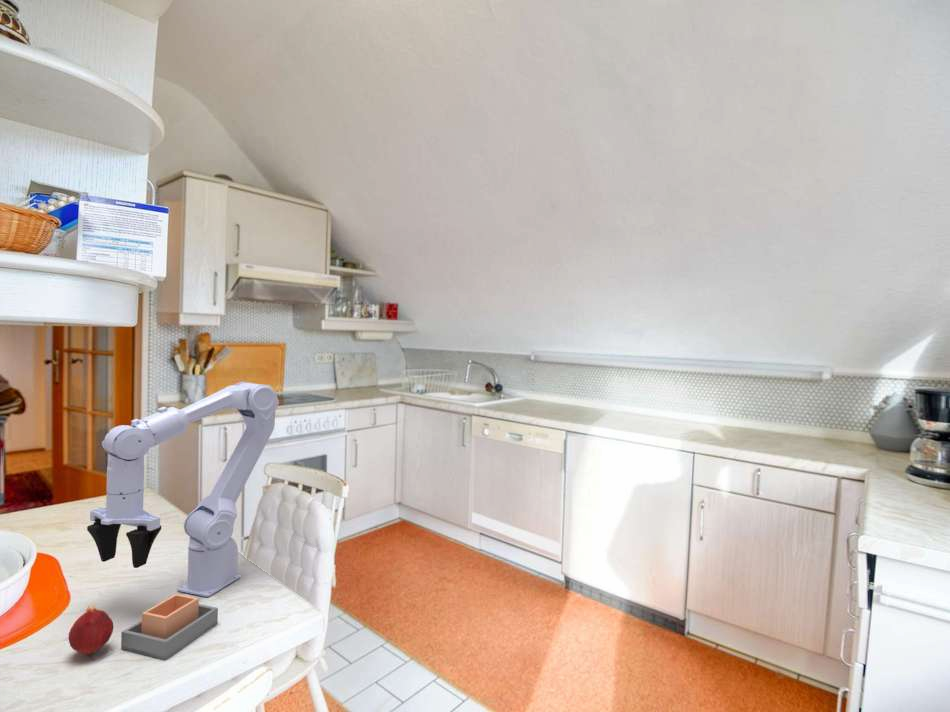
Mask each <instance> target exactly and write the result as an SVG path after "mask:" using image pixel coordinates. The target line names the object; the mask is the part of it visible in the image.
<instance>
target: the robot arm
mask: <svg viewBox="0 0 950 712" xmlns="http://www.w3.org/2000/svg"><path fill="white" fill-rule="evenodd" d="M279 403H280V401H279V398H278V396H277V393H276V391H275V389H274V388H273V387H272V386H271V385H268V384H260V383H253V382H249V381H240V382H237V383H236V384H232V385H227V386H226V387H224V388H222V389H221V390H218V391H216V392H215V393H212V394H210V395H208V396H205V397H204V398H202V399H200V400H198V401H197V400H196V402H192V403H191V404H189V405H187V406H184V407H183V408H181V409H180V408H177V407H174V406H170V407H167V406H162V407H160V408H159V407H158V408H157V412H155V413H153V414H150V415H148V416H146V417H143V418H141V419H138V418H135V419H134V418H133V419H132V420H131V421H130V422H131V424H130V425H127V424H126V425H125V424H122V425H117V426H115V427H113V428H111V429H110V430H109V432H107V433H106V434H105V437H104V440H102V442H101V445H102V447H103V449H104V451H105V452H106V453H107V467H106V490H105V491H106V494H105V495H106V498H105V499H106V500H105V503H106V504H105V505H106V507H99V508H95V509H92V510H90V511H89V521H91V522H93V523H92V524H89V525H87V527H86V531H87V532H88V533H89V534H90V536H91V537H92V538H93V541H94V542H95V544H96V548H97V551H98V554H99V557H100V560H101V562H103V563H105V562H107V561H109V560H112V559H114V558H115V557H116V553H117V543H118V537H119V532H120V529H121V525H123V526H129V527H136V529H133V530H130V531H127V532H126V533H125V534H126V535H125V536H126V537H127V539H128V542H129V545H130V549H131V560H132V561H131V563H132V566H133V568H134V569H138V568H140V567H143V566H144V565H146V564H147V562H148V558H149V555H150V553H151V549H152V546H153V545H154V541H155V540H156V538H157V537H158V535H159V533H160V532H161V530H162V525H161V516H157V515H153V514H152V513H150V512H148V511H146V510H144V494H145V493H144V490H145V489H144V488H145V484H144V483H145V455H147V453H148V452H149V451H150V448H153V447H155V446H158V445H160V444H162V443H164V442H167V441H168V440H171V439H173V438H175V437H177V436H179V435H181V434H184V433H185V432H186V431H187V428H188V427H189V424H192V423H193V422H196V421H199V420H202V419H205V418H207V417H209V416H211V415H214V414H217V413H219V412H221V411H225V410H227V409H229V410H230V409H231V410H236V411H237V412H238V413H239V414H240V415H241V417H242V420H243V422H244V424H245V430H244V431H243V433H242V435H241V437H240V438H239V441H238V442H237V444H236V445H235V448H234V450H233V452H232V454H231V455H230V457H229V459H228V461H227V463H226V464H225V466H224V469H222V472H221V473H220V476H219V477H218V479H217V482H216V483H215V485H214V486H213V488H212V490H211V492H210V494H209V495H207V496H206V497H204V498H203V499H201V500H200V501H199V503H198V505H197V506H196V507H195V509H193V510H192V511H191V512H189V514H188V515H187V516H186V518H185V520H184V522H183V530H184V533H185V534H186V535H187V536H188V537H189V542H188V547H187V548H188V549H187V551H188V552H187V582H185V583H184V584H183V585H181V586H178V587H177V588H176V590H177V592H182V593H187V594H192V595H196V596H201V597H206V598H207V597H210V596H212V595H214V594H215V593H217V592H218V591H221V590H222V589H223V588H225V587H227V586H228V585H230V584H232V583H233V582H235V581H236V580H238V579H240V578H241V574H239V573H238V558H239V557H238V556H239V554H238V553H239V549H238V545H237V541H236V540H235V539H234V538H232V536H233V532H234V525H235V522H236V521H235V520H236V518H237V517H238V513H237V508H236V507H237V506H236V503H237V501H238V499H239V497H240V495H241V493H242V491H243V490H244V488H245V485H246V484H247V482H248V479H249V478H250V476H251V474H252V472H253V470H254V468H255V466H256V465H257V462H258V460H259V458H260V457H261V456H262V455H261V454H262V453H263V451H264V449H265V447H266V446H267V443H268V441H269V440H270V437H271V435H272V434H273V431H274V429H275V425H276V423H275V422H276V410H277V408H278V406H279Z"/></svg>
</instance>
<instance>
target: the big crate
mask: <svg viewBox="0 0 950 712" xmlns="http://www.w3.org/2000/svg"><path fill="white" fill-rule="evenodd" d="M218 612H219V608H218V607H215V606H210V605H205V604H201V603H199V609H198V619H197V620H195V621H194V622H192V623H190V624H189V625H187V626H186V627H184V628H183V629H181V630H180V631H178V632H177V633H175V634H174V635H172V636H171V637H169V638H167V639H162V638H158V637H153V636H149V635H145V634H141V627H142V619H141V620H139V621H138V622H136V623H134V624H133V625H132V624H131V626H129V627H127V628H125V629H124V630H121V638H120V639H121V640H120V641H121V642H120V644H121V645H120V649H121V650H122V651H126V652H131V653H134V654H139V655H141V656H142V655H143V656H146V657H150V658H155V659H158V660H163V661H167V660H168V659H170V658H171V657H173V656H174V655H175V654H177V653H178V652H179V651H181V650H182V649H184V648H185V647H187V646H188V645H189V644H191V643H192V642H194V641H196V640H197V639H198V638H200V637H201V636H203V635H205V633H207V632H208V631H210V630H211V629H213V627H214V628H215V626H216V625H218V621H219V619H218V616H219V615H218V614H219V613H218Z"/></svg>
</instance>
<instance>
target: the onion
mask: <svg viewBox="0 0 950 712" xmlns="http://www.w3.org/2000/svg"><path fill="white" fill-rule="evenodd" d="M113 631H114V621H113V619H112V618H111V617H110V615H109V614H108V613H107V612H106V611H104V610H101V609H97V608H95V607H94V606H93V605H88V607H87V609H86V611H85V613H83V614H81V615H80V616H79V617H78V618H77V619H76V620H75V621H74V623H73V624H72V626H71V627H70V630H69V633H68V637H67V639H68V642H69V647H70V648H72V649H73V650H74V651H76V652H77V653H79V654H83V655H85V656H90V655H93V654H94V653H96V652H97V651H99V650H100V649H101V648H102V647H104V646H105V645H106V644H107V643H108V642H109V641H110V639H111V638H112V637H111V636H112V634H113Z"/></svg>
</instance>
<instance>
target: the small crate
mask: <svg viewBox="0 0 950 712" xmlns="http://www.w3.org/2000/svg"><path fill="white" fill-rule="evenodd" d="M199 600H200V598H199V597H194V596H190V595H184V594H179V593H175V594H173V595H172V596H170V597H168V598H166V599H165V600H162V601H160V602H159V603H158V604H156V605H154V606H152V607H150V608H149V609H147V610H145V611H143V612H141V620H142V627H141V634H145V635H149V636H153V637H158V638H162V639H167V638H169V637H171V636H172V635H174V634H175V633H177V632H178V631H180V630H181V629H183V628H184V627H186V626H187V625H189V624H190V623H192V622H194V621H195V620H197V619H198V609H199V604H200V603H199V602H200V601H199Z"/></svg>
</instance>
